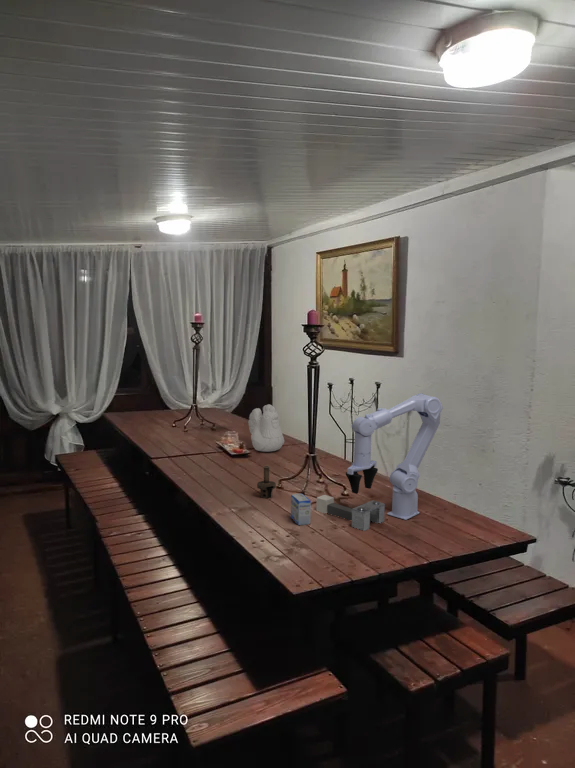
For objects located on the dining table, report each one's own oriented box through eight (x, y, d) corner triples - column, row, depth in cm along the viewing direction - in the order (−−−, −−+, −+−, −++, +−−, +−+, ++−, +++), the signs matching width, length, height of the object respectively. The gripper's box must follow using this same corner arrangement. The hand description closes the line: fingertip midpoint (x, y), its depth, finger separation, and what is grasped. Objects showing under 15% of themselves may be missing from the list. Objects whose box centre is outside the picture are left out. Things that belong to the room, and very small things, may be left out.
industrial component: (278, 498, 218) (278, 468, 216) (261, 500, 215) (261, 470, 213) (270, 491, 226) (270, 462, 225) (253, 493, 223) (253, 464, 222)
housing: (372, 517, 198) (372, 499, 197) (384, 521, 194) (384, 502, 193) (351, 527, 189) (352, 507, 188) (363, 531, 186) (364, 511, 185)
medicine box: (290, 518, 197) (290, 494, 196) (302, 516, 198) (302, 492, 197) (298, 526, 190) (298, 501, 188) (310, 524, 191) (311, 499, 190)
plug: (324, 507, 208) (324, 494, 207) (362, 519, 196) (362, 505, 195) (316, 510, 204) (316, 497, 204) (354, 523, 193) (354, 509, 192)
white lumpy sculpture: (288, 453, 288) (289, 405, 285) (260, 456, 281) (260, 407, 278) (269, 442, 310) (269, 398, 307) (242, 445, 304) (242, 400, 301)
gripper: (365, 446, 201) (364, 483, 203) (340, 453, 191) (339, 492, 192) (381, 450, 196) (380, 487, 198) (357, 457, 186) (356, 497, 187)
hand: (361, 490), depth 195 cm, fingers open, 7 cm apart
